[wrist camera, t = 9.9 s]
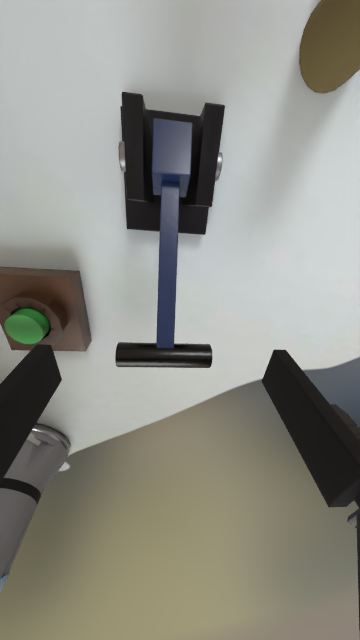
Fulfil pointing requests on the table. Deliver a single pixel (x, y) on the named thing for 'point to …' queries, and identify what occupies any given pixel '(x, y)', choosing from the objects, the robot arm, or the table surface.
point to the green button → (27, 326)
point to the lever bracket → (138, 165)
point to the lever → (167, 252)
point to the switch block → (47, 305)
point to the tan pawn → (331, 45)
